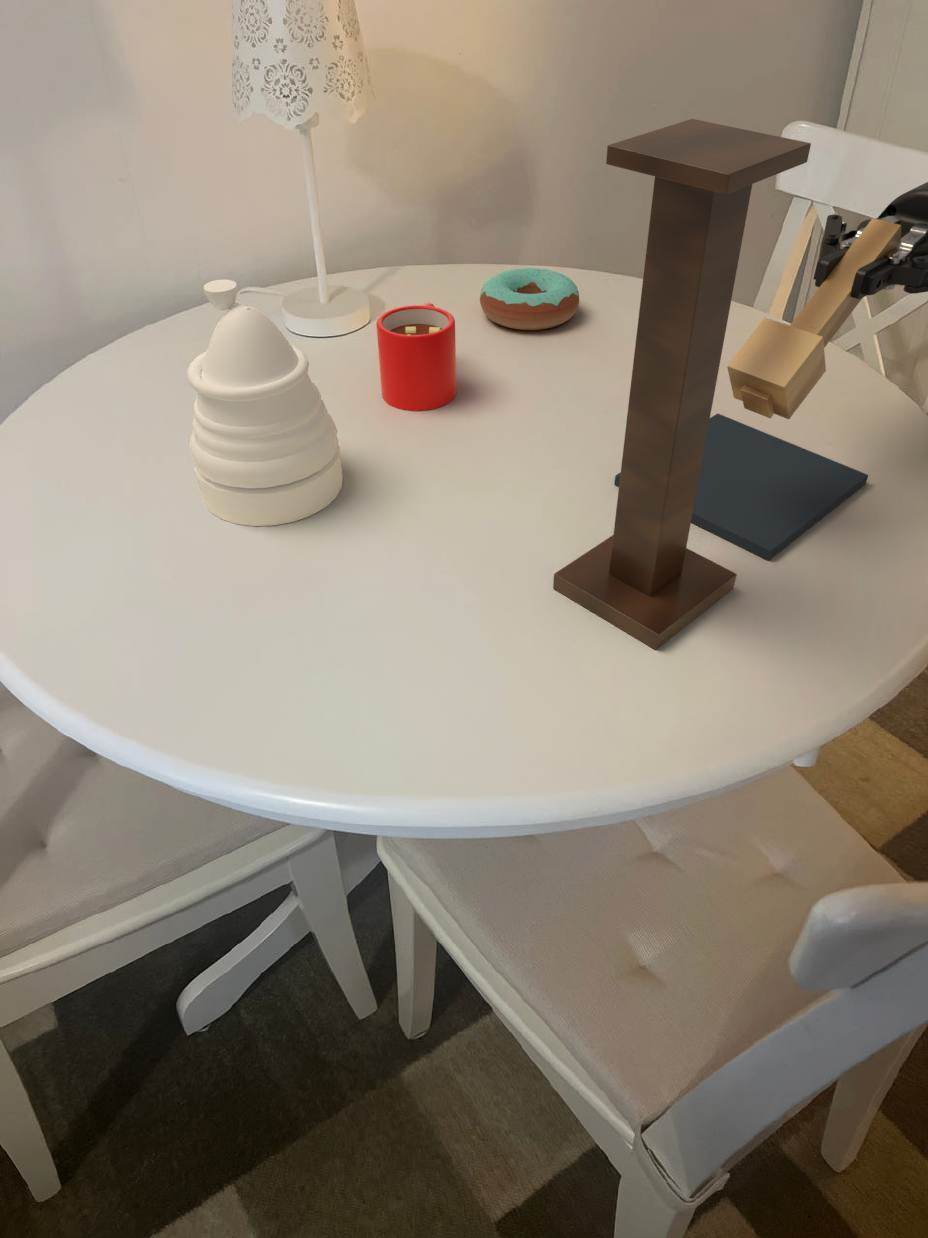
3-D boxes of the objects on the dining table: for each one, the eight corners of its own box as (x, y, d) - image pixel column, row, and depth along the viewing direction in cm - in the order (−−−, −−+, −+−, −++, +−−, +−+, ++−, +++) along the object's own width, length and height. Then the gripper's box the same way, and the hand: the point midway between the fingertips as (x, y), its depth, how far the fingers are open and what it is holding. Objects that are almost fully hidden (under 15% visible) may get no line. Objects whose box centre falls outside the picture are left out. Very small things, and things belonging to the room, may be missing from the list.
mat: (865, 484, 83) (868, 474, 82) (768, 561, 75) (771, 551, 74) (715, 421, 92) (717, 412, 91) (613, 484, 84) (615, 475, 83)
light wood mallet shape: (916, 251, 73) (918, 212, 69) (785, 424, 71) (780, 392, 67) (858, 236, 75) (856, 197, 72) (729, 402, 73) (722, 370, 70)
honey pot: (170, 496, 83) (118, 300, 71) (269, 435, 91) (237, 250, 79) (276, 543, 78) (238, 339, 66) (371, 473, 85) (353, 280, 74)
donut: (598, 313, 112) (601, 280, 109) (533, 345, 106) (535, 311, 103) (524, 287, 118) (525, 256, 116) (459, 315, 112) (458, 283, 109)
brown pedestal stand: (733, 588, 72) (837, 142, 51) (655, 650, 67) (735, 182, 46) (632, 535, 78) (688, 112, 57) (552, 588, 73) (581, 144, 51)
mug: (466, 360, 103) (465, 290, 98) (450, 412, 94) (448, 339, 89) (397, 356, 104) (392, 287, 99) (374, 408, 95) (368, 335, 90)
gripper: (877, 161, 81) (769, 209, 72) (1041, 196, 74) (943, 253, 65) (855, 248, 86) (751, 302, 77) (1006, 288, 79) (910, 354, 70)
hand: (839, 280), depth 71 cm, fingers closed on light wood mallet shape, 2 cm apart
